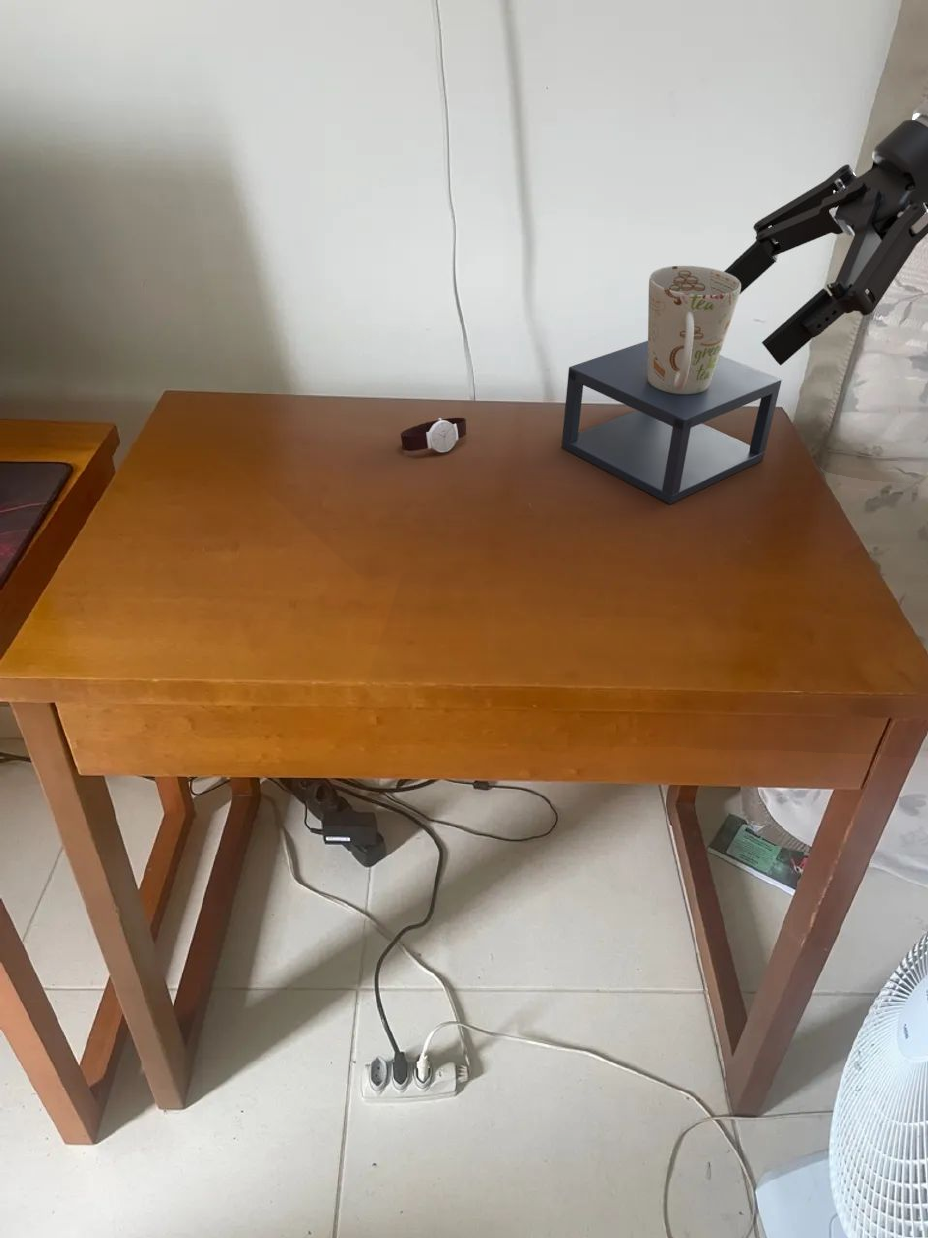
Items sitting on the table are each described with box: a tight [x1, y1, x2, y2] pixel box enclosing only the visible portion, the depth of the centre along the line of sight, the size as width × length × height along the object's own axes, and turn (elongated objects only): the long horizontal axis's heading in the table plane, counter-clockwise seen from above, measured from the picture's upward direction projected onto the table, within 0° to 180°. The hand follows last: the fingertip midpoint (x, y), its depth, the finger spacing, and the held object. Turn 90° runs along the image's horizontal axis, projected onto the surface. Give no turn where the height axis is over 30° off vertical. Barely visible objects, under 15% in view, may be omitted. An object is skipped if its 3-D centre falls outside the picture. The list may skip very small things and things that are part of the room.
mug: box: [647, 265, 741, 394], centre depth 92 cm, size 8×13×10 cm, turn 172°
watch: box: [400, 417, 467, 453], centre depth 103 cm, size 8×5×4 cm, turn 126°
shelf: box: [561, 340, 783, 505], centre depth 101 cm, size 15×15×9 cm
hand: (739, 326), depth 92 cm, fingers open, 13 cm apart
